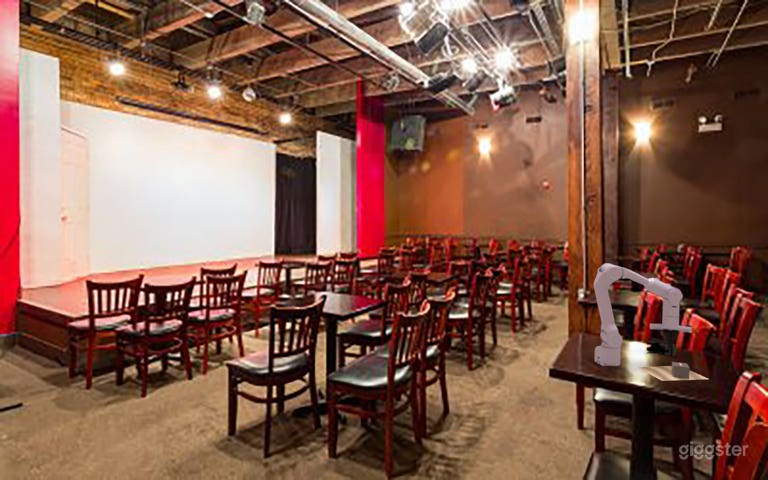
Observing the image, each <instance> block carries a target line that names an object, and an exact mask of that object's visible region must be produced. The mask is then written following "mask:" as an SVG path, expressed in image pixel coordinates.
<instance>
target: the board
mask: <svg viewBox="0 0 768 480" xmlns="http://www.w3.org/2000/svg"><path fill="white" fill-rule="evenodd" d="M636 368H637V369H638V370H641V371H643V372H644V373H647V374H649V375H650V376H652V377H654V378H657V379H658V380H660V381H662V382H663V381H666V382H667V381H668V382H669V381H671V382H672V381H692V380H693V381H694V380H695V381H697V380H709V378H707V377H705V376H703V375H701V374H698V373H696V372H694V371H692V370H691V369H690V370H689V379H685V378H677V377H673V375H672V365H663V366H662V365H660V366H636Z"/></svg>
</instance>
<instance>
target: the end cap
mask: <svg viewBox="0 0 768 480" xmlns="http://www.w3.org/2000/svg"><path fill="white" fill-rule="evenodd" d="M646 345H647V347H646V351H647V352H646V353H647V354H648V355H649V354H651V355H653V354H659V355H661V356H665V357H667V356H669V357H671V358H674V357H675V356H676V354H677V353H678V351H677V350H678V348H677V345H676V344H675V343H673V346H672V348H668V347H667V341H666V340H665V341H664V340H660V339H657V338H653V337H652V338H651V340H647V341H646ZM649 345H650V346H649Z"/></svg>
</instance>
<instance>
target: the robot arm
mask: <svg viewBox="0 0 768 480" xmlns="http://www.w3.org/2000/svg"><path fill="white" fill-rule="evenodd" d="M620 279H628V280H629V279H630V280H631V281H633V282H636V283H637V284H640V285H643V286H644V289H645V290H646V291H648V292H650V293H652V294H655V295H657V296H658V297H661V298H662V321H661V322H662V323H649V329H650V330H661V331H662V333H663V335H664V337H665V342H667V347H668V348H672V346H673V344H675V341H676V339H677V338H678V336H679V335H680V333H679V332H683V333H684V332H685V333H690V334H691V333H693V332H692V331H693V327H692V326H685V325H684V326H683V325H680V302H681V300H682V299H683V297H684V296H683V295H684V294H683V293H682V291H681V290H680V289H679V288H677V287H674V286H672V285H671V284H670V283H665V282H663V281H661V280H660V278H657V277H655V278H654V277H650V278H647V277H645V276H642V275H641V274H639V273H637V272H635V271H632V270H631V269H629V268H626V267H621V266H619V265H615V264H612V263H610V262H608V263H607V262H606V263H603V264H602V265H601V266H600V267H599V268H598V269H597V274H596V277H595V279H594V281H593V288H594V289H593V290H594V293H595V297H596V302H597V308H598V313H599V317H600V321H601V325H600V332H599V333H600V339H601V340H602V342H601V344H600V345H598V346H596V347H595V348H594V362H595V363H596V364H598V365H600V366H602V367H606V366H608V367H609V366H611V367H617V366H620V365H621V349H622V348H621V346H622V345H623V341H624V340H623V337H622V336H621V334H620V333H619V329H618V327H617V325H616V323H615V321H616V320H615V318H614V312H613V309H612V303H611V298H610V295H609V289H608V288H609V287H610V286H611V285H612V284H613V283H614V282H616V281H619V280H620Z"/></svg>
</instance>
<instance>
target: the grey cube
mask: <svg viewBox="0 0 768 480" xmlns="http://www.w3.org/2000/svg"><path fill="white" fill-rule="evenodd" d="M671 366H672V375H673V377H677V378H685V379H689V370H690V371H691V368H690V366H689V365H688V363H686V362H677V361H675V362H674V361H671Z"/></svg>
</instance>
